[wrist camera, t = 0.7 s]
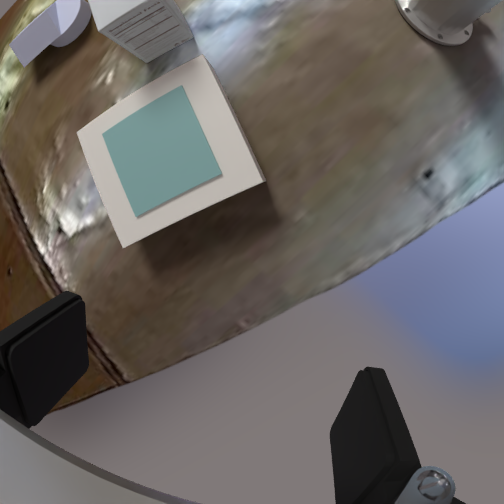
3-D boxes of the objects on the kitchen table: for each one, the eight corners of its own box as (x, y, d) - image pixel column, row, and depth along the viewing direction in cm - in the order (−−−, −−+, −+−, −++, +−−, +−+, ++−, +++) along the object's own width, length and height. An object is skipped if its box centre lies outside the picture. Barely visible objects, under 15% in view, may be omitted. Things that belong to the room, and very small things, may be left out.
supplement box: (131, 29, 33) (84, -8, 20) (177, 3, 31) (142, -44, 19) (146, 65, 34) (96, 32, 22) (195, 39, 33) (160, -7, 20)
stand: (212, 67, 33) (202, 53, 28) (266, 181, 36) (262, 181, 31) (97, 135, 37) (75, 132, 32) (141, 239, 40) (122, 248, 35)
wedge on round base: (36, 71, 35) (95, 24, 33) (10, 63, 29) (71, 9, 26) (32, 36, 33) (87, -8, 31) (8, 27, 27) (65, -23, 25)
